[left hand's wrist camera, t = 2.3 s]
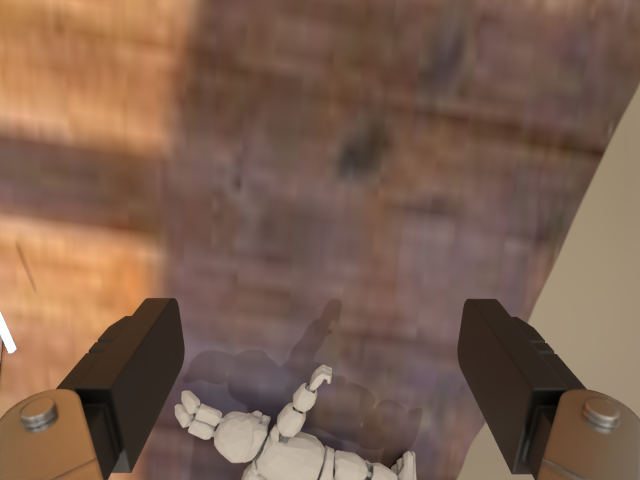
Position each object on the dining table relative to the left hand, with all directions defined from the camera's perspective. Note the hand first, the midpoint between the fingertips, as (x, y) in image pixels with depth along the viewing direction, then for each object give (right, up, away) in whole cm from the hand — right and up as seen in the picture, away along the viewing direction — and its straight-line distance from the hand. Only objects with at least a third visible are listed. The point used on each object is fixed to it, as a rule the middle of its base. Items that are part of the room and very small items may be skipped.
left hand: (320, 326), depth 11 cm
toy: (-3, -22, +40) cm, 46 cm away
